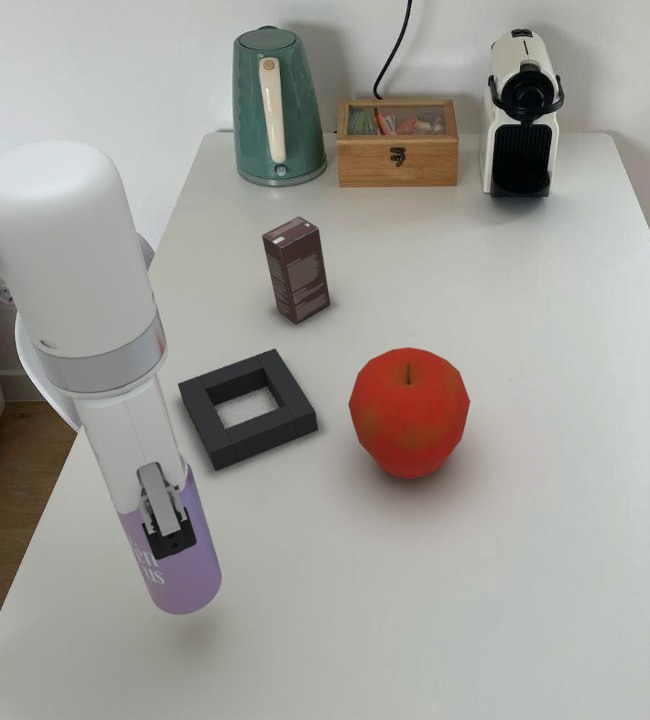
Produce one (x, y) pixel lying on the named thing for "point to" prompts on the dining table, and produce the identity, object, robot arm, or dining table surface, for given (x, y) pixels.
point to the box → (297, 268)
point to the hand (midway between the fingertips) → (162, 515)
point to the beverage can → (177, 557)
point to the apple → (409, 411)
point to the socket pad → (256, 432)
